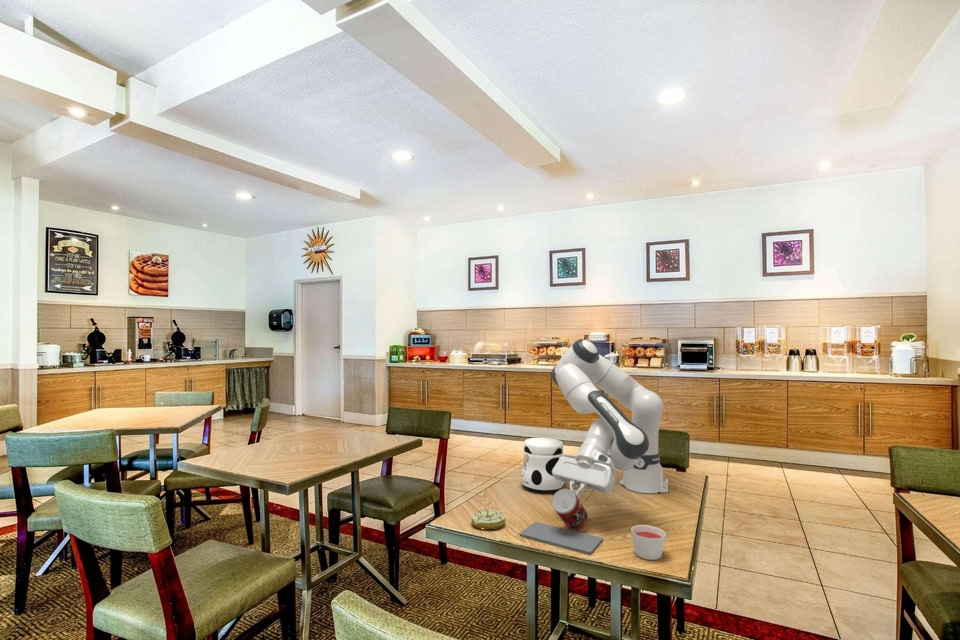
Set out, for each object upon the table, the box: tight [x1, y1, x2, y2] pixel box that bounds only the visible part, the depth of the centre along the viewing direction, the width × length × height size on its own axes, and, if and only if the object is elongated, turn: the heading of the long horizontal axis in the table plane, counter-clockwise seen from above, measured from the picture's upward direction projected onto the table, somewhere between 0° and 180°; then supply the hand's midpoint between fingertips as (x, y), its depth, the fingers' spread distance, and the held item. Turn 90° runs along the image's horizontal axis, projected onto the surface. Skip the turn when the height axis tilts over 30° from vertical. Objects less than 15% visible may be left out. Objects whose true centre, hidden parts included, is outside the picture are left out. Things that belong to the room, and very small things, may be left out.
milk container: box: [520, 437, 566, 493], centre depth 188 cm, size 17×17×18 cm
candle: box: [630, 524, 667, 561], centre depth 132 cm, size 9×9×6 cm
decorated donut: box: [471, 508, 507, 530], centre depth 152 cm, size 10×11×4 cm
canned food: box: [551, 488, 589, 531], centre depth 147 cm, size 8×8×11 cm
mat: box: [518, 521, 604, 556], centre depth 142 cm, size 11×22×1 cm, turn 58°
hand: (573, 496), depth 149 cm, fingers closed, pressing on canned food
